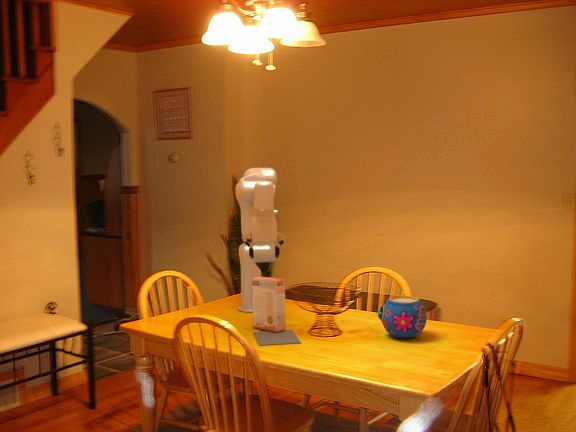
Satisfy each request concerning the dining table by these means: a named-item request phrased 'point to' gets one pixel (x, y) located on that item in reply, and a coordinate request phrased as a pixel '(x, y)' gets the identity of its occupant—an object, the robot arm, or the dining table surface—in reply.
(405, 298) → the ceramic pot
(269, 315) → the cracker box
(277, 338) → the mat
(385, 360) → the dining table surface
